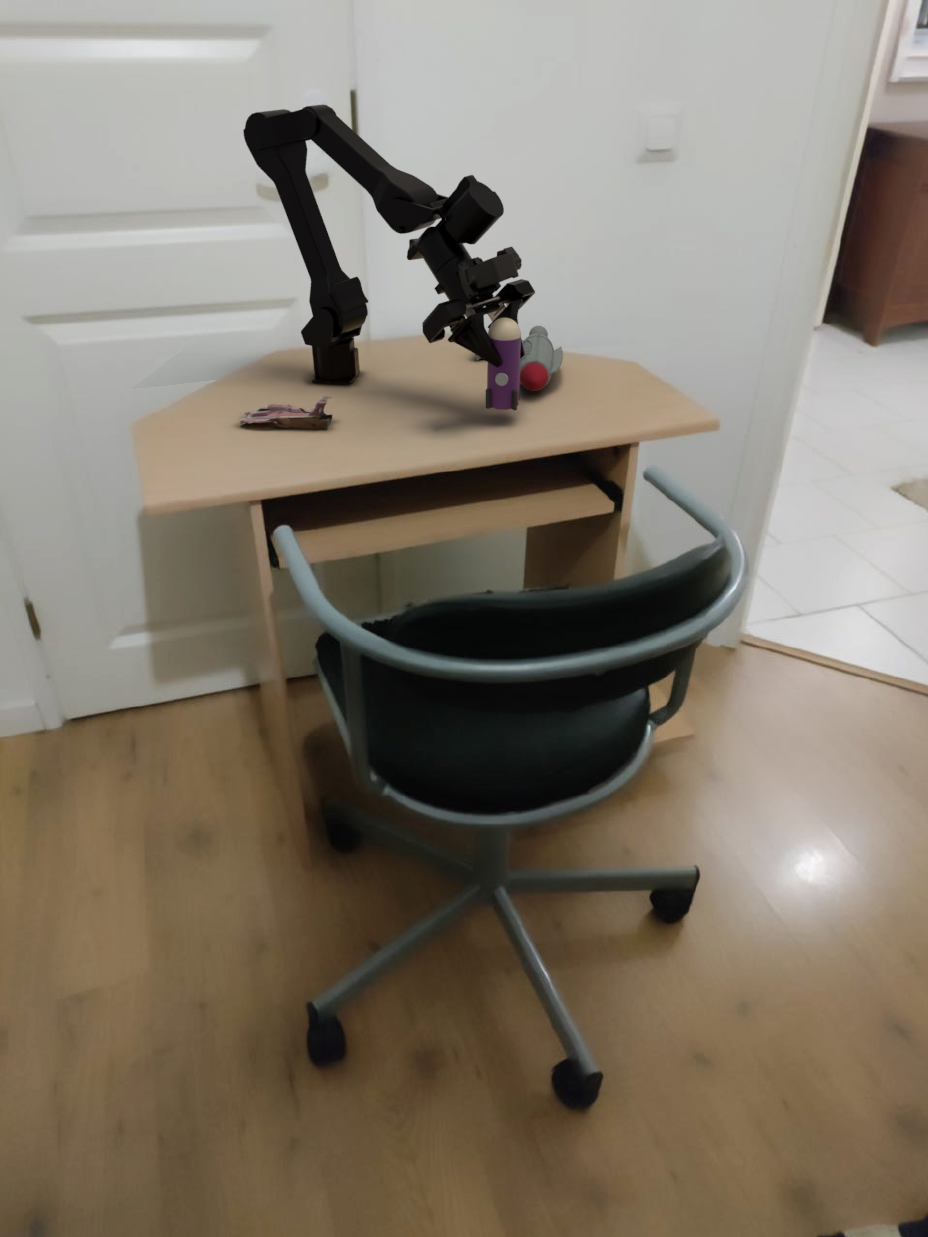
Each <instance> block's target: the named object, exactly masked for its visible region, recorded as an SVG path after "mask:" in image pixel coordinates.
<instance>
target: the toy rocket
mask: <svg viewBox="0 0 928 1237" xmlns="http://www.w3.org/2000/svg"><path fill="white" fill-rule="evenodd" d="M491 323H492V322H491ZM491 323H490V324H491ZM487 333H488V335H489V337H490V339H491V340H492V342H493V344H494V346H495V348H496V349H497V351H498V353H499V355H500V357H501V360H502V362H503V364H502V365H501V366H500V367H498V368H497V367H495V366H494V365H492V364H490V363H489V362H487V364H486V365H487V366H486V367H487V370H486V371H487V373H486V376H487V378H486V389H485V406H484V407H485V409H487V410H489V409H493V410H499V411H507V410H512V411H517V410H518V406H519V404H520V399H521V383H520V381H519V379H520V351H521V339H522V330H521V328H520V325H519V323H518V324H517V323H516V322H515V321H514V320H512V319H510V318H499V319H497V320H496V321H494V322H493V323H492V324H491V326H490V328H488V331H487Z"/></svg>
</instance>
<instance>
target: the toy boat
mask: <svg viewBox="0 0 928 1237" xmlns="http://www.w3.org/2000/svg"><path fill="white" fill-rule="evenodd" d="M332 398H333V397H332V396H330V395H329V396H328V395H323V396H321V397H320V399H318V401H317V402H316V403H315V406H314V408H308V409H307V408H302V407H301V406H293V405H290V404H286V403H278V402H276V403H275V402H274V403H272V402H268V403H267V406H261V407H259V409H257V410H250V411H246V412H244V415H245V416H246V417H243V418H240V419H239V421H240V423H239V424H240V425H242V424H246V423H247V424H258V425H266V423H274V424H276V426H277V427H278V428H283V429H285V428H286V429H287V428H293V429H313V430H315V429H316V430H319V429H320V430H321V429H328V427H329V425H330V423H331V422H332V420H333V414H331V413H330V414H327V413H325V411H324V410H325V406H326V405H327V403H329V401H330V400H331V399H332Z"/></svg>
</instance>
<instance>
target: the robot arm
mask: <svg viewBox="0 0 928 1237" xmlns="http://www.w3.org/2000/svg"><path fill="white" fill-rule="evenodd" d="M242 133H243V139H244V143H245V144H246V146H247V148H248V151H249V152H250V154H251V156H252V158H253V160H254V162H255V164H256V165H257V167H258V168H259V169H260V170H261V171H262V172H263V173H264V174H265V175H266V176H267V177H268V178H269V179H270V180H271V181H272V182H273V184H274V186H275V189H276V191H277V194H278V196H279V199H280V202H281V204H282V208H283V210H284V213H285V215H286V218H287V220H288V223H289V225H290V228H291V231H292V234H293V236H294V239H295V242H296V244H297V246H298V249H299V252H300V255H301V257H302V260H303V263H304V266H305V268H306V270H307V273H308V276H309V279H310V289H309V299H308V302H309V306H310V310H311V315H312V317H311V318H310V319H309V321H308V322H307V323H306V324H305V325H304V327H302V329H301V330H300V334H301V337H302V340H303V342H304V343H303V344H304V345H305V346H310V347H311V352H312V353H311V354H312V363H313V364H312V365H313V372H314V375H313V377H312V378H311V383H314V384H331V385H351V384H352V383H353V382H354V381H355V379H356V377H358V375H359V374H360V372H361V371H360V357H359V349H358V347H355V346H356V345H355V337H358V336H360V335H361V332H362V328H363V325H364V324H365V323H366V320H367V317H368V315H369V311H368V310H369V309H368V306H367V304H368V303H369V299H368V298H367V297H366V295H365V293H364V290H363V286H362V281H361V279H360V278H359V276H354V277H351V278H350V276H348V274H346V272H345V271H343V269H342V267H341V265H340V262H339V260H338V256H337V254H336V252H335V249H334V248H335V247H334V246H333V243H332V240H331V237H330V235H329V232H328V229H327V226H326V224H325V221H324V218H323V216H322V213H321V211H320V208H319V205H318V202H317V199H316V196H315V194H314V191H313V188H312V185H311V183H310V180H309V177H308V174H307V160H308V159H307V158H308V146H307V141H311V142H313V143H314V144H315V145H316V146H317V147H318V148H319V149H321V150H322V151H323V153H325V154H326V155H327V156H328V157H329V158H330V159H331V160H333V161H334V162H335V163H336V164H337V166H339V167H340V168H341V169H342V170H343V171H344V172H346V173H347V175H349V176H350V177H351V178H352V179H353V180H355V182H356V183H357V184H358V185H360V186H361V187H362V188H363V189H364V190H365V191H366V192H367V193H368V194H369V196H370V197H371V198H372V201H373V204H374V207H375V209H376V212H377V213H378V214H379V215H380V217H381V218H382V219H383V220H384V221H385V223H386V224H387V226H389V228H390V229H391V230H392V231H393V232H395V233H397V234H400V235H405V234H410V233H413V232H416V231H417V232H418V231H420V230H423V229H425V230H424V231H423V232H422V233H421V235H419V237H418V238H410V239H409V241H408V248H407V252H406V253H407V254H406V259H407V260H408V261H415V260H421V259H423V261H424V262H425V264H426V265H427V267H428V269H429V270H430V272H431V273H432V275H433V277H434V278H435V280H436V282H437V285H436V286H435V287H434V288H433V289H434V290H435V292H436V294H437V295H442V294H445V296H446V298H447V299H448V300H447V301H442V302H440V303H439V302H438V304H437V305H436V306H435V307H434V309H433V310H432V311H431V312H430V313H429V314H428V316H427V317H425V319H424V320H423V321H422V323H421V324H422V325H421V326H422V333H423V335H424V337H425V338H426V340H427V342H428V343H429V344H433V343H436V342H439V341H441V340H443V339H444V338H445V335H446V330H445V329H446V328H448V327H449V331H450V332H451V335H450V336H449V337H448V338H447V341H448V342H449V343H451V344H452V343H454V344H456V345H458V346H460V347H462V348H464V349H466V350H468V351H470V352H471V353H472V354H474V355H475V354H476V355H478V356H479V357H481V358H482V359H483V361H486V363H488V362H489V363H490V364H492V365H494V366H495V367H497V368H498V367H500V366H501V365H502V364H503V362H502V360H501V357H500V355H499V353H498V351H497V349H496V348H495V346H494V344H493V342H492V340H491V339H490V337H489V335H488V331H487V329H486V327H485V315H488V317H489V319H490V320H491V322H490V324H488V326H487V328H488V329H489V328H490V326H491V324H492V323H493V322H494V321H496V320H497V319H499V318H510V319H512V320H514V321H515V322H516V323H517V324H518V325H519V318H518V315H519V310H520V309H521V308H522V307H523V306H524V305H525V304H526V303H528V301H529V300H530V299H531V298H532V297H533V296H534V295H535V294H536V290H535V288H534V287H533V286H532V283H531V282H530V281H529V280H527V279H522V278H521V279H516V280H513V281H511V282H507V283H506V284H504V285H503V287H502V285H501V283H502V282H504V281H506V280H507V281H508V280H509V279H515V278H518V277H519V276H520V275H519V270H521V269H522V266H523V265H522V264H523V262H522V258H521V257H520V255H519V253H518V252H517V251H516V250H515V249H514V247H513V246H509V247H505V248H503V249H501V250H498V251H497V252H496V256H493V257H491V258H488V259H486V260H483V259H482V258H481V257H479V256H477V257H472V256H471V254H470V253H469V251H468V249H466V246H465V245H464V244H467V245H475V244H477V243H478V242H479V241H480V240H481V239H482V237H483V236H484V235H486V233H487V232H488V231H489V230H490V229H491V228H492V227H493V226H494V224H496V223H497V221H498V220H499V219H501V217H502V216H503V215H504V212H505V208H504V204H503V202H502V199H501V198H500V196H499V195H498V193H497V192H496V191H493V190H492V188H490V187H489V186H487V184H485V183H483V182H481V181H479V180H478V179H477V178H476V177H475V176H474V174H470V175H466V176H464V177H463V178H462V179H461V180H460V181H459V182H458V184H457V186H456V188H455V189H454V190H453V192H452V193H451V194H450V195H449V196H446V195H443V194H439V193H437V192H436V190H435V189H434V188H433V187H432V186H431V185H430V184H428V183H427V182H425V181H423V180H421V179H420V178H418V177H417V176H415V175H413V174H411V173H408V172H406V171H403V170H400V169H398V168H396V167H395V166H393V165H392V164H390V163H389V162H388V161H387V160H386V159H385V158H384V157H383V156H382V155H381V154H379V153H378V152H377V151H376V150H375V149H374V148H373V147H372V146H371V145H369V143H367V142H366V141H365V140H364V139H363V138H362V137H361V136H359V135H358V134H357V133H356V132H355V131H354V130H353V129H352V128H351V127H350V126H349V125H348V124H346V123H345V122H344V121H343V120H342V118H340V117H339V116H338V115H337V113H336V111H335V110H334V108H333V107H330V106H329V105H327V104H315V105H306V106H304V107H302V108H301V109H298V110H294V111H291V110H289V109H284V108H283V109H273V110H264V111H257V112H253V113H251V114H250V115H248V116H247V119H246V120H245V125H244V129H242ZM437 220H439V221H438V223H437V224H436V225H435V226H433V225H434V224H435V222H436V221H437ZM501 287H502V288H501ZM500 288H501V289H500ZM497 291H498V292H497ZM495 292H497V293H496V294H495V295H494V293H495ZM522 340H523V339H522V338H521V351H520V359H521V358H523V357H524V355H525V352H524V348H523V344H522Z"/></svg>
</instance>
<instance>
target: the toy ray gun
mask: <svg viewBox="0 0 928 1237" xmlns="http://www.w3.org/2000/svg"><path fill="white" fill-rule="evenodd" d="M548 336H549V333H548V330H547V329H546V327H544V326H542V325H535V326H533V327H532V328H531V329H530V330H529V332H528V336H526V337H525V338H524V339H522V344H523V348H524V352H525V355H524V357H523V358H521V359H520V379H519V381H520V385H522V387H524V388H525V389H526V390H528V391H531V392H537V391H541V390H543V388H545V387H547V385H548V384H549V382H550V380H551V379H552V376H553V374H555V373H557V372H558V371H559V370H560V368H561V366H562V364H563V359H564V353H563V348H562V346H559V347H557V348H556V349H554V346H553V343H552V341H551V340H550V338H549V337H548ZM474 355H475V361H476V362H478V361H480V360H482V359H483V358H481V357H479V356H478V355H476V354H475V353H474Z"/></svg>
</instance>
